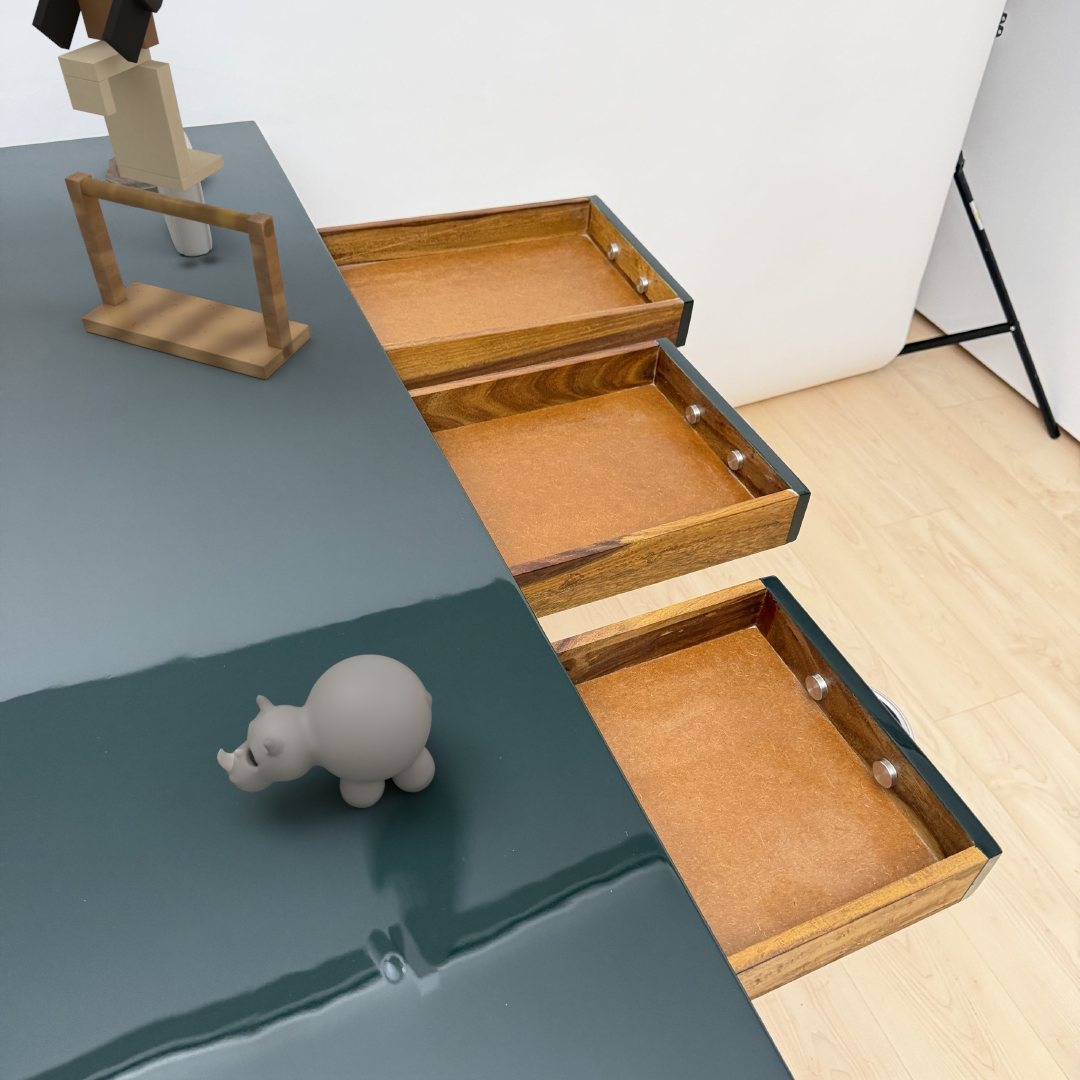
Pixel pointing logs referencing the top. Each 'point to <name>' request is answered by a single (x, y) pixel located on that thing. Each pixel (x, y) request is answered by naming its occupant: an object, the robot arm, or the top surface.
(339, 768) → the round bodied animal figurine
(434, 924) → the top surface
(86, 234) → the stand
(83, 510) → the top surface
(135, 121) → the beige and brown blocks
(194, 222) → the white rounded oblong piece
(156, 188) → the fossil
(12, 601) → the top surface
